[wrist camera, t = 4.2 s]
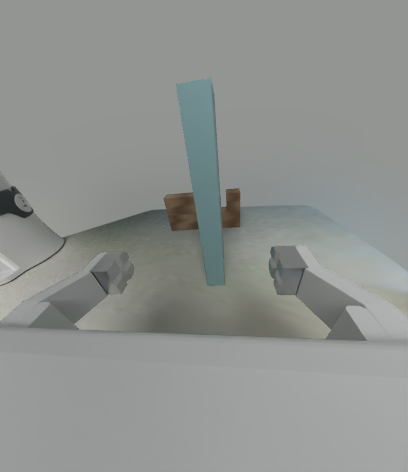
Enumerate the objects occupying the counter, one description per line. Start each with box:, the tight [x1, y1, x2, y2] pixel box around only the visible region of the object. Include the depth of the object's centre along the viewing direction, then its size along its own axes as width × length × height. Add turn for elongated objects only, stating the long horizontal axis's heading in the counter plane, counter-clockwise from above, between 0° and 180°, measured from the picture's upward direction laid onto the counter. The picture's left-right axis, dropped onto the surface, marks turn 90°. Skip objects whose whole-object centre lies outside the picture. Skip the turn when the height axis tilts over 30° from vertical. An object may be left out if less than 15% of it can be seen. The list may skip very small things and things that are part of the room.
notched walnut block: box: [164, 189, 240, 230], centre depth 36 cm, size 16×2×8 cm, turn 85°
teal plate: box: [176, 78, 225, 285], centre depth 20 cm, size 2×7×22 cm, turn 175°
